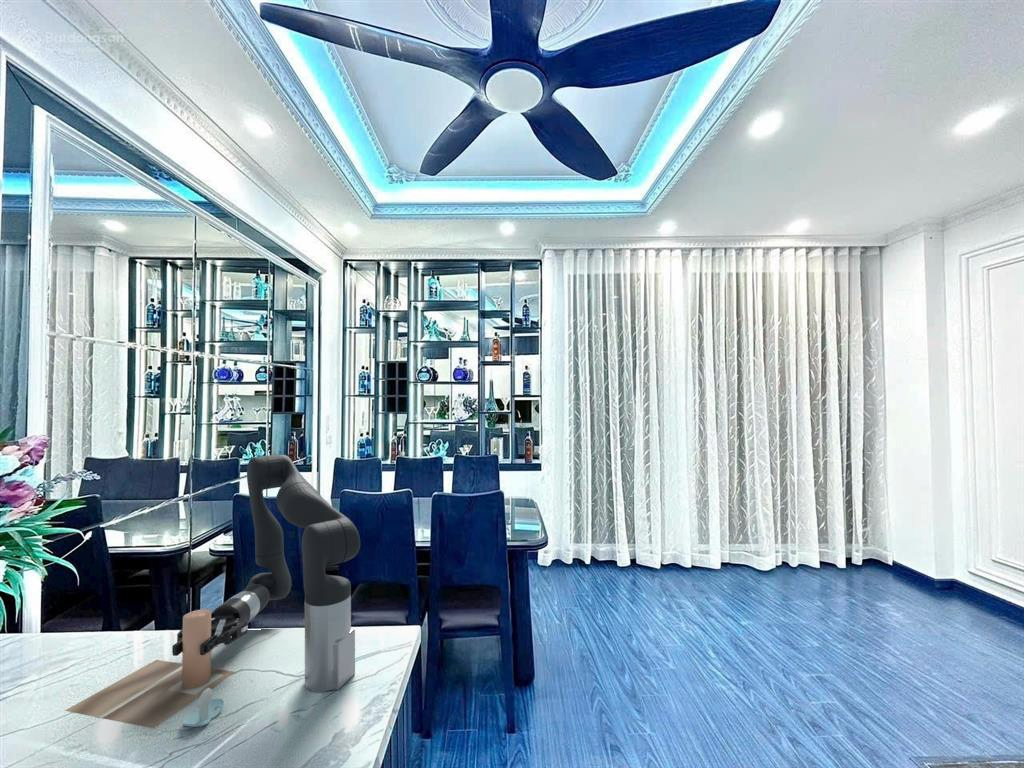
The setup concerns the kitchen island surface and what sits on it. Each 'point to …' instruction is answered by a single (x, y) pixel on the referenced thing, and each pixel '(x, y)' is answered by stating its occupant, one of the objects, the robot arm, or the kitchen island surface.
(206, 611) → the cylinder
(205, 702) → the pacifier
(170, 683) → the board
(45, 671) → the kitchen island surface
